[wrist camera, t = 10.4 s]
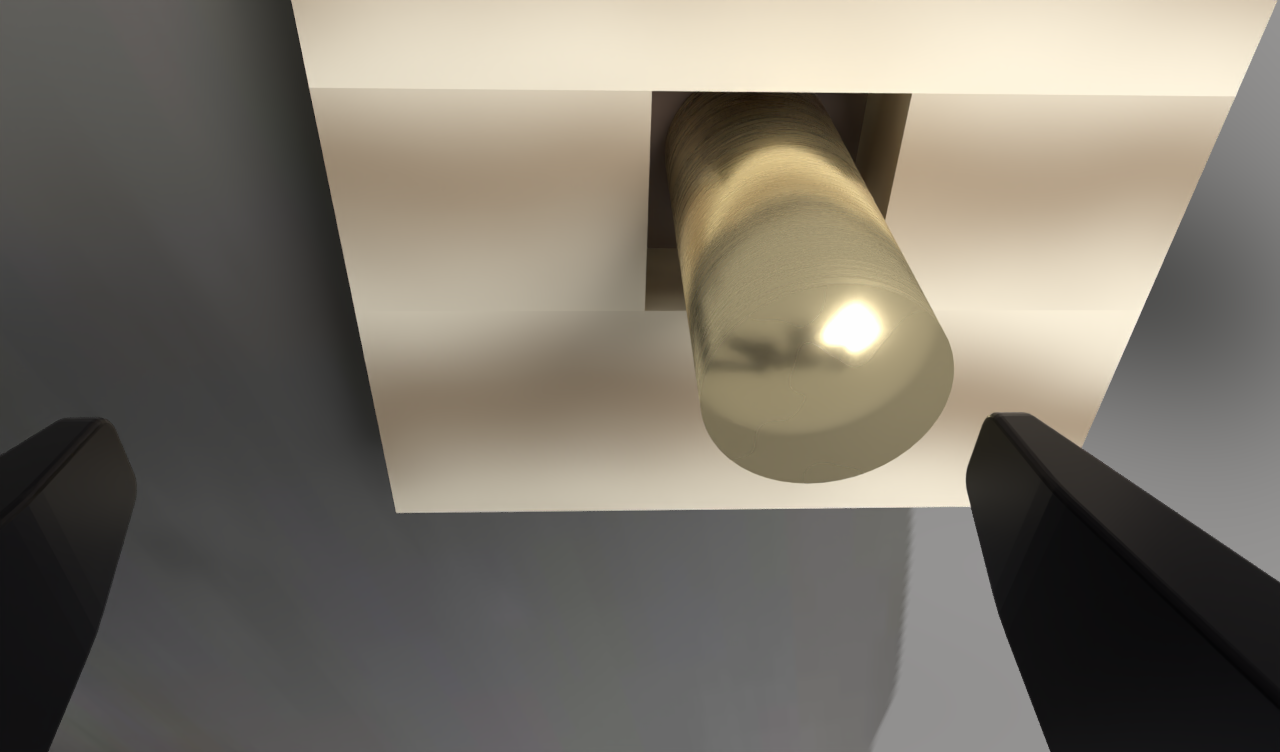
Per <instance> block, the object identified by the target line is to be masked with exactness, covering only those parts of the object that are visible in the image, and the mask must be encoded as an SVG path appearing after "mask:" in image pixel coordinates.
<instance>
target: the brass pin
mask: <svg viewBox="0 0 1280 752" xmlns="http://www.w3.org/2000/svg"><path fill="white" fill-rule="evenodd" d="M665 166H666V173H667V180H668V187H669V193H670V200H671V207H672V214H673V221H674V228H675V235H676V242H677V249H678V256H679V263H680V270H681V277H682V284H683V291H684V298H685V305H686V311H687V318H688V325H689V332H690V339H691V346H692V353H693V360H694V367H695V374H696V381H697V388H698V395H699V402H700V408H701V414H702V419H703V422H704V425H705V428H706V430H707V432H708V434H709V436H710V437H711V439H712V441H713V442H714V443H715V445H716V446H717V447H718V448H719V450H720V451H721V452H722V453H723V454H724V455H725V456H727V457H728V458H729V459H730V460H731V461H733V462H734V463H736V464H737V465H739V466H740V467H742V468H744V469H746V470H748V471H750V472H752V473H754V474H757V475H759V476H762V477H765V478H769V479H773V480H777V481H782V482H790V483H805V484H811V483H826V482H832V481H839V480H843V479H847V478H851V477H855V476H858V475H861V474H864V473H867V472H870V471H872V470H874V469H876V468H878V467H881V466H883V465H885V464H887V463H888V462H890V461H892V460H894V459H895V458H897V457H899V456H900V455H901V454H903V453H904V452H906V451H907V450H909V449H910V448H911V447H912V446H913V445H914V444H916V443H917V442H918V441H919V440H920V439H921V438H922V437H923V436H924V435H925V434H926V433H927V432H928V431H929V430H930V429H931V427H932V426H933V425H934V423H935V422H936V420H937V419H938V418H939V416H940V414H941V413H942V411H943V409H944V407H945V405H946V403H947V400H948V398H949V395H950V393H951V388H952V384H953V379H954V360H953V353H952V350H951V346H950V343H949V340H948V338H947V336H946V334H945V333H944V331H943V329H942V327H941V325H940V323H939V321H938V319H937V317H936V316H935V314H934V312H933V310H932V308H931V306H930V304H929V302H928V301H927V299H926V297H925V295H924V293H923V291H922V289H921V287H920V286H919V284H918V282H917V280H916V278H915V276H914V274H913V272H912V270H911V269H910V267H909V265H908V263H907V261H906V259H905V257H904V255H903V254H902V252H901V250H900V248H899V246H898V244H897V242H896V240H895V239H894V237H893V235H892V233H891V231H890V229H889V227H888V225H887V224H886V222H885V220H884V218H883V216H882V214H881V212H880V210H879V208H878V207H877V205H876V203H875V201H874V199H873V197H872V195H871V193H870V192H869V190H868V188H867V186H866V184H865V182H864V180H863V178H862V177H861V175H860V173H859V171H858V169H857V167H856V165H855V163H854V162H853V160H852V158H851V156H850V154H849V152H848V150H847V148H846V146H845V145H844V143H843V141H842V139H841V137H840V135H839V133H838V131H837V130H836V128H835V126H834V124H833V122H832V120H831V118H830V116H829V115H828V113H827V111H826V109H825V107H824V105H823V103H822V102H821V100H820V99H819V98H818V96H817V95H816V94H815V93H814V92H713V91H695V92H693V93H692V94H691V95H690V96H689V97H688V98H687V99H686V101H685V102H684V103H683V104H682V106H681V107H680V108H679V110H678V111H677V113H676V115H675V117H674V118H673V120H672V123H671V125H670V128H669V130H668V134H667V138H666V144H665Z"/></svg>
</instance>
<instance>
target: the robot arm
mask: <svg viewBox="0 0 1280 752" xmlns="http://www.w3.org/2000/svg"><path fill="white" fill-rule="evenodd" d="M966 489H967V494H968V498H969V502H970V506H971V510H972V514H973V518H974V522H975V526H976V529H977V533H978V537H979V541H980V545H981V549H982V553H983V557H984V561H985V565H986V568H987V573H988V577H989V581H990V584H991V589H992V593H993V596H994V600H995V603H996V607H997V610H998V614H999V617H1000V620H1001V622H1002V625H1003V628H1004V631H1005V634H1006V637H1007V639H1008V642H1009V644H1010V647H1011V650H1012V652H1013V655H1014V658H1015V660H1016V663H1017V665H1018V668H1019V671H1020V673H1021V676H1022V679H1023V681H1024V684H1025V686H1026V689H1027V692H1028V694H1029V697H1030V700H1031V702H1032V705H1033V707H1034V710H1035V713H1036V715H1037V718H1038V721H1039V723H1040V726H1041V728H1042V731H1043V734H1044V736H1045V739H1046V742H1047V744H1048V747H1049V749H1050V752H1280V582H1279V581H1277V580H1276V579H1274V578H1273V577H1271V576H1270V575H1268V574H1267V573H1266V572H1264V571H1263V570H1261V569H1260V568H1258V567H1257V566H1255V565H1254V564H1252V563H1251V562H1249V561H1248V560H1246V559H1245V558H1243V557H1242V556H1240V555H1239V554H1237V553H1236V552H1234V551H1233V550H1232V549H1230V548H1229V547H1227V546H1226V545H1224V544H1223V543H1221V542H1220V541H1218V540H1217V539H1215V538H1214V537H1212V536H1211V535H1209V534H1208V533H1206V532H1205V531H1203V530H1202V529H1201V528H1199V527H1197V526H1196V525H1194V524H1193V523H1192V522H1190V521H1189V520H1187V519H1186V518H1184V517H1183V516H1181V515H1180V514H1178V513H1177V512H1175V511H1174V510H1172V509H1171V508H1169V507H1168V506H1166V505H1165V504H1164V503H1162V502H1161V501H1159V500H1158V499H1156V498H1155V497H1153V496H1152V495H1150V494H1149V493H1147V492H1146V491H1144V490H1143V489H1141V488H1140V487H1138V486H1137V485H1135V484H1134V483H1132V482H1131V481H1130V480H1128V479H1127V478H1125V477H1124V476H1122V475H1121V474H1119V473H1118V472H1116V471H1115V470H1113V469H1112V468H1110V467H1109V466H1107V465H1106V464H1104V463H1103V462H1101V461H1100V460H1098V459H1097V458H1095V457H1094V456H1093V455H1091V454H1089V453H1088V452H1086V451H1085V450H1084V449H1082V448H1081V447H1079V446H1078V445H1076V444H1075V443H1073V442H1072V441H1070V440H1069V439H1067V438H1066V437H1064V436H1063V435H1061V434H1060V433H1059V432H1057V431H1056V430H1054V429H1053V428H1051V427H1050V426H1048V425H1047V424H1045V423H1044V422H1042V421H1041V420H1039V419H1038V418H1036V417H1035V416H1033V415H1031V414H1029V413H1026V412H994V413H992V414H989V415H988V416H987V417H986V418H985V420H984V422H983V424H982V426H981V429H980V432H979V435H978V438H977V441H976V443H975V446H974V449H973V452H972V455H971V458H970V460H969V463H968V466H967V470H966ZM136 494H137V484H136V478H135V475H134V472H133V470H132V467H131V465H130V462H129V460H128V458H127V455H126V453H125V451H124V448H123V446H122V443H121V441H120V439H119V436H118V434H117V431H116V429H115V428H114V426H113V424H112V423H111V422H110V421H108V420H107V419H104V418H100V417H79V418H63V419H60V420H58V421H56V422H54V423H53V424H51V425H50V426H48V427H46V428H45V429H43V430H41V431H40V432H38V433H37V434H35V435H33V436H32V437H30V438H28V439H27V440H25V441H24V442H22V443H20V444H19V445H17V446H15V447H14V448H12V449H11V450H9V451H7V452H6V453H4V454H2V455H1V456H0V752H48V751H49V749H50V746H51V744H52V741H53V739H54V737H55V734H56V732H57V729H58V727H59V725H60V722H61V720H62V717H63V715H64V713H65V710H66V708H67V705H68V703H69V701H70V698H71V696H72V693H73V691H74V689H75V686H76V684H77V681H78V679H79V677H80V674H81V672H82V669H83V667H84V665H85V662H86V660H87V658H88V655H89V652H90V650H91V647H92V645H93V642H94V640H95V637H96V634H97V632H98V628H99V625H100V622H101V619H102V616H103V613H104V610H105V606H106V603H107V599H108V596H109V592H110V589H111V585H112V581H113V578H114V574H115V571H116V567H117V564H118V560H119V557H120V553H121V550H122V546H123V543H124V539H125V536H126V532H127V529H128V525H129V522H130V518H131V515H132V511H133V508H134V504H135V500H136Z"/></svg>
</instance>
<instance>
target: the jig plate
mask: <svg viewBox="0 0 1280 752" xmlns="http://www.w3.org/2000/svg"><path fill="white" fill-rule="evenodd" d="M291 1H292V6H293V11H294V16H295V21H296V26H297V31H298V35H299V40H300V45H301V50H302V55H303V60H304V65H305V70H306V75H307V79H308V84H309V89H310V94H311V99H312V104H313V109H314V114H315V119H316V123H317V128H318V133H319V138H320V143H321V148H322V153H323V158H324V162H325V167H326V172H327V177H328V182H329V187H330V192H331V197H332V202H333V206H334V211H335V216H336V221H337V226H338V231H339V236H340V241H341V246H342V250H343V255H344V260H345V265H346V270H347V275H348V280H349V285H350V290H351V294H352V299H353V304H354V309H355V314H356V319H357V324H358V329H359V333H360V338H361V343H362V348H363V353H364V358H365V363H366V368H367V373H368V377H369V382H370V387H371V392H372V397H373V402H374V407H375V412H376V417H377V421H378V426H379V431H380V436H381V441H382V446H383V451H384V456H385V461H386V465H387V470H388V475H389V480H390V485H391V490H392V495H393V500H394V504H395V509H396V513H442V512H531V511H620V510H709V509H798V508H887V507H966V506H967V507H971V506H970V502H969V498H968V494H967V489H966V470H967V466H968V463H969V460H970V458H971V455H972V452H973V449H974V446H975V443H976V441H977V438H978V435H979V432H980V429H981V426H982V424H983V422H984V420H985V418H986V417H987V416H988V415H989V414H992V413H994V412H1026V413H1029V414H1031V415H1033V416H1035V417H1036V418H1038V419H1039V420H1041V421H1042V422H1044V423H1045V424H1047V425H1048V426H1050V427H1051V428H1053V429H1054V430H1056V431H1057V432H1059V433H1060V434H1061V435H1063V436H1064V437H1066V438H1067V439H1069V440H1070V441H1072V442H1073V443H1075V444H1076V445H1078V446H1079V447H1081V448H1082V445H1083V443H1084V441H1085V439H1086V436H1087V434H1088V432H1089V429H1090V427H1091V425H1092V423H1093V420H1094V418H1095V416H1096V413H1097V411H1098V409H1099V407H1100V404H1101V402H1102V400H1103V397H1104V395H1105V393H1106V391H1107V388H1108V386H1109V384H1110V381H1111V379H1112V377H1113V375H1114V372H1115V370H1116V368H1117V365H1118V363H1119V361H1120V359H1121V356H1122V354H1123V352H1124V350H1125V347H1126V345H1127V343H1128V340H1129V338H1130V336H1131V334H1132V331H1133V329H1134V326H1135V324H1136V322H1137V320H1138V317H1139V315H1140V313H1141V310H1142V308H1143V306H1144V304H1145V302H1146V299H1147V297H1148V295H1149V292H1150V290H1151V288H1152V285H1153V283H1154V281H1155V279H1156V276H1157V274H1158V272H1159V270H1160V267H1161V265H1162V263H1163V260H1164V258H1165V256H1166V254H1167V251H1168V249H1169V247H1170V244H1171V242H1172V240H1173V237H1174V235H1175V233H1176V231H1177V228H1178V226H1179V224H1180V221H1181V219H1182V217H1183V215H1184V213H1185V210H1186V208H1187V206H1188V203H1189V201H1190V199H1191V197H1192V194H1193V192H1194V190H1195V187H1196V185H1197V183H1198V181H1199V178H1200V176H1201V174H1202V171H1203V169H1204V167H1205V165H1206V162H1207V160H1208V158H1209V155H1210V153H1211V151H1212V149H1213V146H1214V144H1215V142H1216V140H1217V137H1218V135H1219V132H1220V130H1221V128H1222V126H1223V124H1224V121H1225V119H1226V117H1227V114H1228V112H1229V110H1230V107H1231V105H1232V103H1233V101H1234V98H1235V96H1236V94H1237V92H1238V89H1239V87H1240V85H1241V82H1242V80H1243V78H1244V76H1245V73H1246V71H1247V69H1248V67H1249V64H1250V62H1251V60H1252V57H1253V55H1254V53H1255V51H1256V48H1257V46H1258V44H1259V41H1260V39H1261V37H1262V34H1263V32H1264V30H1265V28H1266V25H1267V23H1268V21H1269V19H1270V16H1271V14H1272V12H1273V9H1274V7H1275V5H1276V2H1277V0H291ZM695 91H713V92H814V93H815V94H816V95H817V96H818V98H819V99H820V100H821V102H822V103H823V105H824V107H825V109H826V111H827V113H828V115H829V116H830V118H831V120H832V122H833V124H834V126H835V128H836V130H837V131H838V133H839V135H840V137H841V139H842V141H843V143H844V145H845V146H846V148H847V150H848V152H849V154H850V156H851V158H852V160H853V162H854V163H855V165H856V167H857V169H858V171H859V173H860V175H861V177H862V178H863V180H864V182H865V184H866V186H867V188H868V190H869V192H870V193H871V195H872V197H873V199H874V201H875V203H876V205H877V207H878V208H879V210H880V212H881V214H882V216H883V218H884V220H885V222H886V224H887V225H888V227H889V229H890V231H891V233H892V235H893V237H894V239H895V240H896V242H897V244H898V246H899V248H900V250H901V252H902V254H903V255H904V257H905V259H906V261H907V263H908V265H909V267H910V269H911V270H912V272H913V274H914V276H915V278H916V280H917V282H918V284H919V286H920V287H921V289H922V291H923V293H924V295H925V297H926V299H927V301H928V302H929V304H930V306H931V308H932V310H933V312H934V314H935V316H936V317H937V319H938V321H939V323H940V325H941V327H942V329H943V331H944V333H945V334H946V336H947V338H948V340H949V343H950V346H951V350H952V353H953V360H954V379H953V384H952V388H951V393H950V395H949V398H948V400H947V403H946V405H945V407H944V409H943V411H942V413H941V414H940V416H939V418H938V419H937V420H936V422H935V423H934V425H933V426H932V427H931V429H930V430H929V431H928V432H927V433H926V434H925V435H924V436H923V437H922V438H921V439H920V440H919V441H918V442H917V443H916V444H914V445H913V446H912V447H911V448H910V449H909V450H907V451H906V452H904V453H903V454H901V455H900V456H899V457H897V458H895V459H894V460H892V461H890V462H888V463H887V464H885V465H883V466H881V467H878V468H876V469H874V470H872V471H870V472H867V473H864V474H861V475H858V476H855V477H851V478H847V479H843V480H839V481H832V482H826V483H811V484H805V483H790V482H782V481H777V480H773V479H769V478H765V477H762V476H759V475H757V474H754V473H752V472H750V471H748V470H746V469H744V468H742V467H740V466H739V465H737V464H736V463H734V462H733V461H731V460H730V459H729V458H728V457H727V456H725V455H724V454H723V453H722V452H721V451H720V450H719V448H718V447H717V446H716V445H715V443H714V442H713V441H712V439H711V437H710V436H709V434H708V432H707V430H706V428H705V425H704V422H703V419H702V414H701V408H700V402H699V395H698V388H697V381H696V374H695V367H694V360H693V353H692V346H691V339H690V332H689V325H688V318H687V311H686V305H685V298H684V291H683V284H682V277H681V270H680V263H679V256H678V249H677V242H676V235H675V228H674V221H673V214H672V207H671V200H670V193H669V187H668V180H667V173H666V166H665V144H666V138H667V134H668V130H669V128H670V125H671V123H672V120H673V118H674V117H675V115H676V113H677V111H678V110H679V108H680V107H681V106H682V104H683V103H684V102H685V101H686V99H687V98H688V97H689V96H690V95H691V94H692V93H693V92H695Z"/></svg>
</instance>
